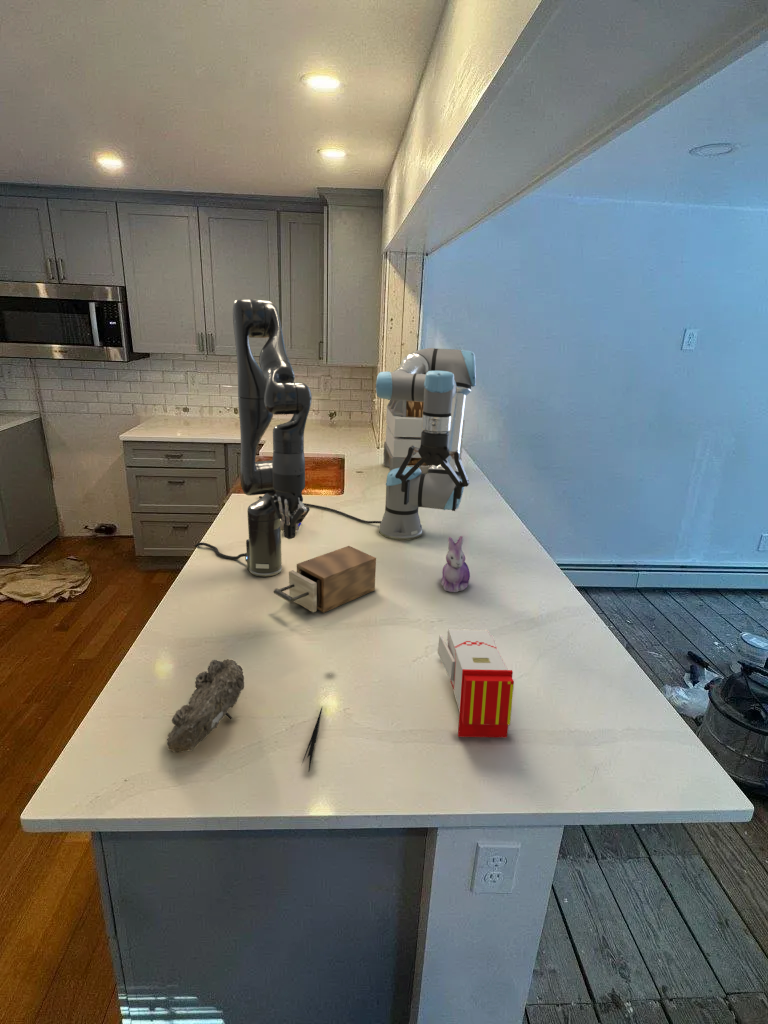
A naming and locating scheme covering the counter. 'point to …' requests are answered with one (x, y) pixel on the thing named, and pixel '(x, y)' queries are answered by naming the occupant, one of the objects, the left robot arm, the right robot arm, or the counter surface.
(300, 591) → the drawer
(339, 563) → the cabinet
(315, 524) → the counter surface
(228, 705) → the fossil
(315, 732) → the feather
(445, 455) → the right robot arm
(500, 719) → the toy
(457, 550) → the figurine
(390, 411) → the white slatted crate
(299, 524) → the black toy vehicle
